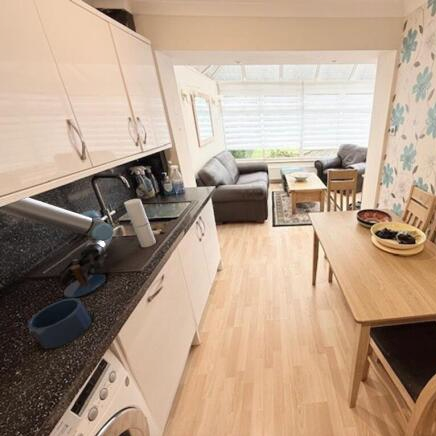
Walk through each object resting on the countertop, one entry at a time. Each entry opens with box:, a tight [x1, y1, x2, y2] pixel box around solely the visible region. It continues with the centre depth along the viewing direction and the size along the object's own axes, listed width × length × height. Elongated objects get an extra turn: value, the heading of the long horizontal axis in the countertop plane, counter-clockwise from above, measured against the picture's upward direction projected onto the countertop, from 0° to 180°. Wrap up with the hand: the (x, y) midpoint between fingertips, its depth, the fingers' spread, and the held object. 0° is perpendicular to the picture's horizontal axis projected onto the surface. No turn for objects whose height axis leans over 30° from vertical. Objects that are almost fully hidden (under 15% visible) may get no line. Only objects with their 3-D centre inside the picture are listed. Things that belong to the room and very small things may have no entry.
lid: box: [63, 265, 107, 298], centre depth 96 cm, size 14×14×10 cm
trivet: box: [65, 273, 106, 299], centre depth 98 cm, size 12×12×1 cm
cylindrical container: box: [123, 198, 157, 248], centre depth 122 cm, size 7×7×25 cm
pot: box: [26, 298, 92, 349], centre depth 77 cm, size 13×13×8 cm
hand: (73, 280), depth 91 cm, fingers open, 6 cm apart
